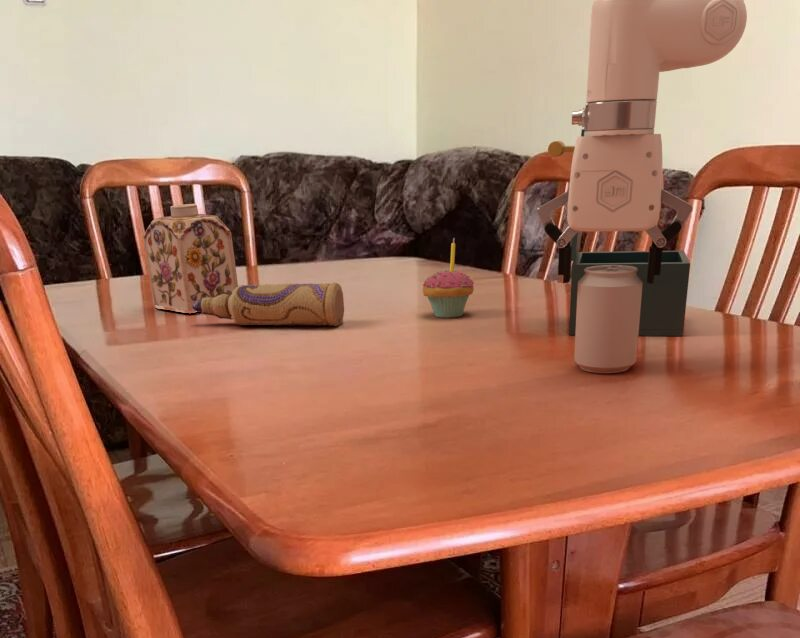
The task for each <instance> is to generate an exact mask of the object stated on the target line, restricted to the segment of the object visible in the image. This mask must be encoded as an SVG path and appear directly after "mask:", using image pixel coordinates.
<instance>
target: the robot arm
mask: <svg viewBox="0 0 800 638" xmlns="http://www.w3.org/2000/svg"><path fill="white" fill-rule="evenodd" d="M747 18H748V13H747V7H746V4H745V0H593V3H592V5H591V14H590V26H589V27H590V28H589V45H588V47H589V48H588V62H587V63H588V65H587V79H586V80H587V81H586V82H587V83H586V97H585V98H586V99H585V100H586V101H585V103H586V104H585V107H583V108H582V109H579V110H575V111H572V113H571V125H577V126H578V127H580V126H581V128H583V129H584V130H585V132H584V136H583V137H581V136H577V137H576V141H575V144H574V146H575V149H574V152H573V153H572V160H571V167H570V175H569V176H570V177H569V185H568V186H569V187H568V190H567V191H566V192H563V193H562V194H560V195H558V196H556V197H554V198H553V199H551V200H549V201H547V202H545V203H543V204H542V205H540V206H539V207H537V209H536V214H537V217H538V218H539V221H540V223H541V225H542V227H543V229H544V233H546V235H547V236H549V238H550V239H551V240H552V241H553V242H554V244H555V245H556V246H557V247H558V264H557V276H562V283H563V284H568V283H569V282H570V283H571V276H572V262H573V261H572V247H571V239H572V238H573V237H574V236H575V235H576V233H577V232H578V231H581V232H643V231H644V232H645V233H646V234H647V236H649V238H650V239H651V245H650V246H649V248H648V251H649V257H648V268H647V279H646V280H647V283H649V284H653V281H654V275H660V271H661V261H662V251H664V247H665V246H666V244H668V243H669V242H670V241H671V240H672V239H673V238H674V237H675V236H676V235H677V234H679V233H680V231H681V230H682V228H683V227H684V225H685V223H686V222H687V220H688V218H689V217H690V215H691V213H693V209H694V208H693V205H691V203H688V202H687V201H686V200H683V199H681V198H680V197H678V196H676V195H675V194H672V193H670V192H669V191H667V190H664V189H663V188H662V187H663V186H662V185H663V184H662V182H663V142H662V133H655V128H656V127H655V125H656V114H657V103H658V101H657V100H658V94H659V93H658V90H659V82H660V81H659V80H660V73H664V72H670V71H675V70H681V69H689V68H696V67H701V66H707V65H710V64H712V63H716V62H717V61H720V60H721V59H723V58H725V57H726V56H727V55H728V54H730V53H731V52H732V51H733V50H734V49H735V48H736V46H737V45H738V44H739V42H740V40H741V39H742V37H743V35H744V33H745V30H746V26H747ZM661 204H663V205H665V206H667V207H669V208H670V209H672V210H674V211H675V212H676V213H675V216H674V217H673V219H672V221H671V222H670V223H669V224H668V225H666V227H664V229H663V230H661V229H660V228H659V227H658V225H657V224H658V222H659V217H660V210H661ZM564 206H567V208H566V209H567V210H566V220H567V221H566V222H567V225H568V226H567V227H566V228H565V229H564V231H563V230H561V229H560V228H559V226H558V225H557V224H556V223H555V221H554V219H553V216H552V214H553V213H554V212H555V211H557V210H559V209H561V208H562V207H564Z"/></svg>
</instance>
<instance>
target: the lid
mask: <svg viewBox="0 0 800 638" xmlns="http://www.w3.org/2000/svg"><path fill="white" fill-rule="evenodd" d="M584 132H585V130H584V128H582V129H581V130H580V137H583V136H584ZM574 149H575V145H565V143H564V142H563V141H562V140H554V141H552V142H550V143H549V145H548V147H547V154H548V155H549V157H551V158H559V157H562V156H563V154H565V153H574ZM570 241H571V243H570V245H571V247H572V261H571V262H573V261H575V260H576V257H577V254H578V252H580V249H581V241H582V231H578V232H577V233H576V235H575V236H574V237H573V238H572V239H571V240H570Z"/></svg>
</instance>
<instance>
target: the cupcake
mask: <svg viewBox="0 0 800 638" xmlns="http://www.w3.org/2000/svg"><path fill="white" fill-rule="evenodd" d="M455 239H456V238H455V237H453V239H452V243H451V245H450V261H449V262H450V263H449V270H444V271H443V270H440V271H438V272H436V273H434V274H433V275H431V276H429V277H427V278H426V279H425V280H424V283H423V284H422V294H423V295H422V296H424V297H427V299H428V301H429V303H430V306H431V309H432V313H433V315H434V317H436V318H442V319H450V318H451V319H452V318H458V317H461V316H463V315H464V313H465V312H464V311H465V307H466V305H467V302H468V299H469V297H470V296H471V295H472V294H473V293H474V290H475V287H474V284H475V282H474V280H473V279H472V278H470V277H471V276H469V275H467V274H465V273H463V272H460V271H456V270H455V257H456V243H455Z"/></svg>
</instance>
